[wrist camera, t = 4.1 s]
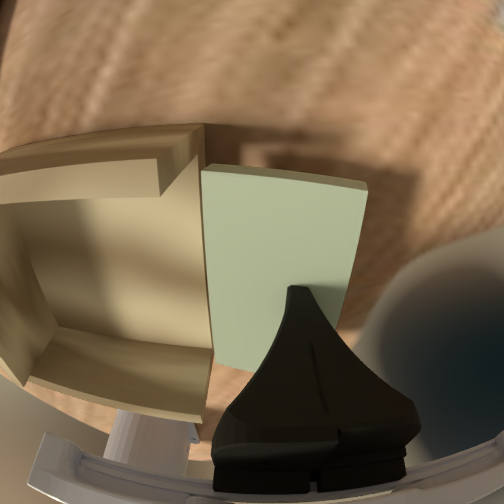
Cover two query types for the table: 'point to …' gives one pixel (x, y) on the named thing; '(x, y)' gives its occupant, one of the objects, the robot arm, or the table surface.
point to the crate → (108, 269)
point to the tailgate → (274, 250)
